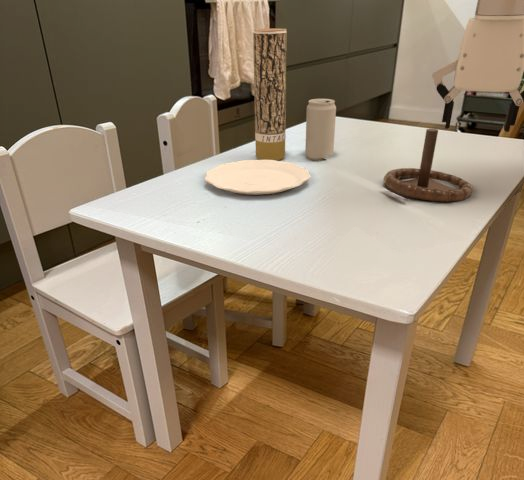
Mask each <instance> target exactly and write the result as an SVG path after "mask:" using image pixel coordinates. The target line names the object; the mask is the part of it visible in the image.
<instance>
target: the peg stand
mask: <svg viewBox="0 0 524 480" xmlns="http://www.w3.org/2000/svg"><path fill="white" fill-rule="evenodd" d="M425 130H426V131H425V136H424V143H423V149H422V154H421V160H420V166H419V169H420V171H419V177H418V178H411V179H405V180H401V181H402V182H404V183H408V184H411V185H415V186H419V187H425V188H430V189H440V190H457V188H453V187H451V186H448V185H446V184H443V183H442V182H439V181H437V180H435V179H430V173H431V170H432V167H433V162H434V156H435V150H436V145H437V139H438V134H439V129H437V128H427V129H425ZM387 190H388V191H390V192H392V193H394V194H396V195H398V196H399V197H402V198H403V199H406V200H408V199H409V198H408V197H407V196H406V197H405V195H402V194H400V193H397V192H395V191H393V190H392V189H390V188H388V189H387ZM416 199H417V200H419V199H418V198H416Z"/></svg>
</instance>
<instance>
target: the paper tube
mask: <svg viewBox="0 0 524 480" xmlns="http://www.w3.org/2000/svg"><path fill="white" fill-rule="evenodd" d="M287 34H288V32H287V28H256V29H253V31H252V40H253V41H252V46H253V47H252V48H253V90H254V91H253V92H254V138H255V141H254V142H255V157H256V158H257V160H276V161H280V160H283V159H284V158H285V156H286V124H287V123H286V120H287V112H286V111H287V48H288V46H287V43H288V41H287V38H288V35H287Z"/></svg>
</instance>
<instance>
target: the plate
mask: <svg viewBox="0 0 524 480" xmlns="http://www.w3.org/2000/svg"><path fill="white" fill-rule="evenodd" d="M310 179H311V175H310V173H309V170H308V169H307V168H306V167H304V166H300V165H298V164H297V163H295V162H290V161H280V160H260V159H244V160H237V161H233V162H226V163H221V164H219V165H217V166H215V167H213V168H211V169H209V170H207V171H206V172H205V177H204V181H205V182H206V183H208V184H210V185H212V186H213V187H214V188H217V189H219V190H225V191H227V192H229V193H233V194H239V195H247V196H249V195H251V196H253V195H254V196H259V195H260V196H261V195H262V196H263V195H272V194H278V193H283V192H286V191H289V190H291V189H294V188H297V187H300V186H301V185H302V184H303V183H306V182H307V181H309V180H310Z"/></svg>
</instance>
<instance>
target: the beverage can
mask: <svg viewBox="0 0 524 480" xmlns="http://www.w3.org/2000/svg"><path fill="white" fill-rule="evenodd" d="M335 102H336V100H335V99H332V98H313V99H309V100H308V104H307V106H306V119H305V120H306V121H305V151H304V153H305V154H304V155H305V156H306V157H307V158H308V159H309V160H311V161H318V162H319V161H327V160H328V159H327V157H328V158H329V157H332V156H334V149H335V147H334V146H335V131H336V116H337V106H336V104H335Z"/></svg>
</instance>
